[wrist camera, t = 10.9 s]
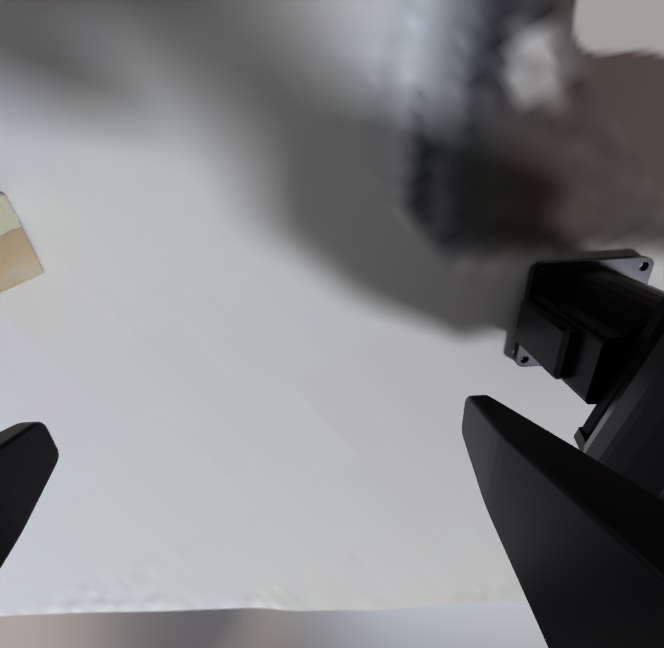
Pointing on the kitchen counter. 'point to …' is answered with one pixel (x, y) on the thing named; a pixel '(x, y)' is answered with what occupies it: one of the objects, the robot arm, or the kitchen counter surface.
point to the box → (15, 250)
